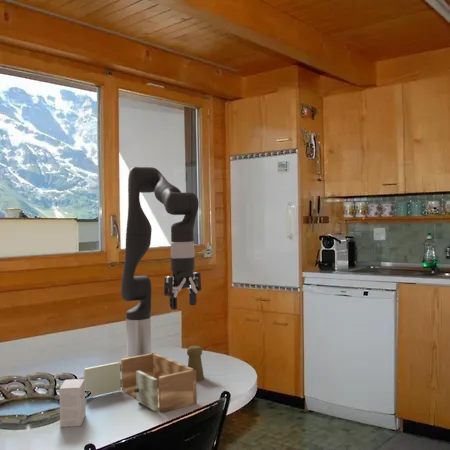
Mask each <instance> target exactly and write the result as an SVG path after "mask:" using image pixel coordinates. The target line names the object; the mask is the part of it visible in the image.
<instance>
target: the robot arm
mask: <svg viewBox="0 0 450 450" xmlns="http://www.w3.org/2000/svg"><path fill="white" fill-rule="evenodd" d="M127 181H128V183H127V184H128V185H127V186H128V187H127V189H128V191H127V192H128V193H127V194H128V195H127V196H128V197H127V198H128V199H127V202H128V203H127V204H128V206H127V221H126V231H125V232H126V233H125V251H124V265H123V270H122V271H123V272H122V278H121V285H120V286H121V287H120V288H121V289H120V293H121V297H122V300H124V301H125V302H136V301H138V303H137V304H136V305H135V306H134V307H131V308H130V309H128V310H126V314H125V322H126V323H125V324H126V325H125V327H126V329H125V330H126V358H129V357H134V356H140V355H145V354H150V353H152V324H151V321H152V319H151V318H152V317H151V313H152V281H151V279H150V277H149V276H148V275H135V272H136V269H137V266H138V265H139V263H140V261H141V260H142V259H143V257H145V254H146V253H147V252H148V250H149V249H150V247H151V241H152V230H153V229H152V225H151V223H150V220H149V219H148V217H147V215H146V213H145V211H144V210H143V207H142V205H141V201H140V200H141V199H140V193H143V194H145V193H147V194H149V193H154V197H155V199H156V200H157V201H159V203H161V204H162V205H163V206H164V209H165V211H166V213H167V214H170V215H172V216H183V218H182V220H180V221H179V222H175V223H173V224H171V227H170V239H171V240H170V242H171V243H170V271H171V272H172V275H171V276H169V275H167V276H166V275H165V277H164V281H163V282H164V285H163V287H164V288H163V291H164V292H163V294H164V295H163V296H166V297H168V298H169V307H170V310H177V309H178V294H179V292H181V290H183V289H187V290H188V292H189V295H188V296H189V297H188V298H189V305H190V306H196V305H197V294H198V292H200V291H202V281H201V279H202V278H201V272H198V271H197V272H196V271H195V270H196V269H195V268H196V265H195V264H196V262H195V261H196V260H195V259H196V257H195V255H196V253H195V244H194V243H195V241H194V228H195V223H196V220H197V219H196V217H197V214H198V210H199V205H200V204H199V198H198V196H197V195H196V194H195V193H194V192H182V191H181V190H180V189H179V187H177V186H175V185H174V184H172V183H171V182H169V181H168V180H167V179H166V177H165V176H164V175H163V174H162V173H161V171H160V170H158V168H156V167H151V166H150V167H149V166H133V167H131V168H130V169H129V172H128V180H127Z"/></svg>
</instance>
